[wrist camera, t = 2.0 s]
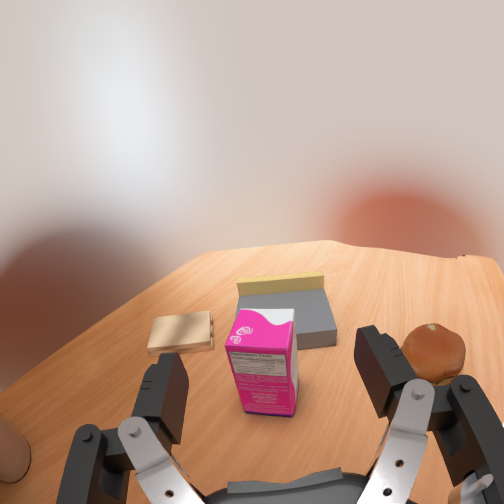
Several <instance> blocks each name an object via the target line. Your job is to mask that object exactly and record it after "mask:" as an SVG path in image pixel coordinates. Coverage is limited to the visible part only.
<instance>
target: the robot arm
mask: <svg viewBox="0 0 504 504" xmlns="http://www.w3.org/2000/svg"><path fill="white" fill-rule="evenodd" d="M354 360H355V364H356V366H357V369H358V371H359V373H360V375H361V378H362V380H363V382H364V385H365V387H366V389H367V391H368V394H369V396H370V399H371V401H372V403H373V406H374V408H375V410H376V413H377V415H378V418H382V417H385V416H387V418H388V420H389V422H388V424H387V427H386V430H385V432H384V435H383V437H382V440H381V442H380V445H379V447H378V449H377V452H376V454H375V456H374V458H373V460H372V462H371V464H370V466H369V468H368V470H367V472H366V474H365V476H364V475H360V474H356V473H347V472H342V471H341V467H339V468H335V469H330V470H326V471H321V472H316V473H312V474H310V475H307V476H305V477H302V478H300V479H297V480H295V481H292V482H289V483H285V484H280V483H270V482H262V481H241V482H228V488H224V489H221V490H218V491H216V492H213V493H211V494H210V495H208V496H206V495H205V494H204V492H203V491H202V490H201V489H200V488H199V487H198V486H197V485H196V484H195V483H194V481H193V480H192V479H191V478H190V476H189V475H188V474H187V473H186V471H185V470H184V469H183V467H182V466H181V465H180V463H179V462H178V461H177V459H176V458H175V456H174V455H173V454H172V452H171V447H172V444H180V442H181V435H182V428H183V421H184V414H185V407H186V401H187V395H188V388H189V379H188V375H187V372H186V370H185V368H184V365H183V363H182V360H181V358H180V356H179V354H178V353H177V352H172V353H161V354H160V356H159V360H158V363H157V364H152V365H151V366H150V367H149V368H148V369H147V371H146V372H145V374H144V377H143V380H142V383H141V387H140V390H139V393H138V396H137V399H136V403H135V406H134V409H133V412H132V415H131V417H130V418H127V419H125V420H124V421H123V422H122V423H121V424H120V426H119V427H118V428H114V429H108V430H102V431H101V430H100V429H99V428H98V427H97V426H95V425H92V424H86V425H83V426H81V427H80V428H79V429H78V430H77V431H76V433H75V435H74V438H73V441H72V444H71V448H70V451H69V454H68V458H67V461H66V465H65V469H64V472H63V476H62V480H61V484H60V488H59V493H58V497H57V502H56V504H126V499H127V491H128V483H129V476H130V470H136V471H137V474H136V478H137V480H138V482H139V484H140V485H141V487H142V489H143V490H144V492H145V494H146V495H147V497H148V498H149V500H150V501H151V503H152V504H417V503H415V502H413V501H411V500H409V499H408V496H409V494H410V491H411V489H412V486H413V484H414V481H415V478H416V476H417V473H418V470H419V467H420V464H421V461H422V458H423V455H424V451H425V448H426V444H427V440H428V436H427V435H426V431H433V434H434V436H435V438H436V441H437V443H438V446H439V448H440V451H441V453H442V456H443V459H444V461H445V464H446V467H447V470H448V472H449V475H450V478H451V481H452V484H453V487H454V488H453V489H452V491H451V492H450V494H449V497H448V504H504V427H503V425H502V423H501V421H500V420H499V418H498V416H497V414H496V412H495V411H494V409H493V407H492V405H491V404H490V402H489V400H488V398H487V397H486V395H485V393H484V392H483V390H482V389H481V387H480V385H479V384H478V382H477V381H476V380H475V379H474V378H473V377H471V376H469V375H460V376H457V377H456V378H455V379H454V380H453V382H452V384H450V385H440V386H432V385H431V384H430V383H429V382H428V381H426V380H423V379H419V378H418V376H417V375H416V373H415V371H414V370H413V368H412V367H411V365H410V363H409V362H408V360H407V359H406V357H405V355H403V352H402V351H401V349H399V346H398V344H397V343H396V341H395V340H394V339H393V338H392V337H390V336H389V335H387V334H386V333H384V334H380V333H379V331H378V330H377V328H376V327H375V326H374V325H370V326H366V327H362V328H358V329H357V333H356V341H355V348H354ZM29 463H30V448H29V445H28V442H27V441H26V439H25V438H24V437H23V436H22V435H21V434H20V433H19V432H18V431H17V430H16V429H15V428H14V427H13V426H12V425H11V424H10V423H9V422H8V421H7V420H6V419H5V418H4V417H3V416H2V414H1V413H0V479H1V480H2V481H4V482H8V483H10V482H15V481H18V480H19V479H20V478H22V477H23V475H24V474H25V473H26V471H27V469H28V466H29Z"/></svg>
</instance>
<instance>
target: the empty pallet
mask: <svg viewBox="0 0 504 504" xmlns="http://www.w3.org/2000/svg"><path fill="white" fill-rule="evenodd" d="M212 325H213V317H212V314H210V310H208V311H202V312H194V313H187V314H180V315H172V316H164V317H155V320H154V323H153V327H152V331H151V335H150V338H149V342H148V346H147V349H148V354H149V356H160V354H161V353H172V352H177V353H178V354H181V353H190V352H199V351H207V350H214V345H213V338H212V337H213V327H212Z"/></svg>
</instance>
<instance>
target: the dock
mask: <svg viewBox="0 0 504 504" xmlns="http://www.w3.org/2000/svg"><path fill="white" fill-rule="evenodd" d="M237 287H238V293H239V300H238V306H237V313H236V318H237V316H238V313H239V311H240V309H242V308H244V309H294V310H295V323H296V339H297V350H299V349H309V348H318V347H327V346H335V345H336V336H337V327H336V324H335V321H334V318H333V315H332V312H331V309H330V306H329V303H328V300H327V297H326V294H325V291H324V274H323V272H322V271H318V272H307V273H296V274H285V275H274V276H262V277H250V278H238V280H237ZM235 320H236V319H235Z"/></svg>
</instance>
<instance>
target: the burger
mask: <svg viewBox="0 0 504 504" xmlns="http://www.w3.org/2000/svg"><path fill="white" fill-rule="evenodd" d="M401 351H402V352H403V355H405V357H406V359H407V360H408V362H409V363H410V365H411V367H412V368H413V370H414V371H415V373H416V375H417V376H418V378H419V379H423V380H426V381H428V382H429V383H430V384H431V385H432V386H440V385H448V384H449V383H450V382H451V381H452V380H453V379H454V377H455V376H456V375H458V374H459V373H460V371H461V370H462V368H463V365H464V360H465V352H466V351H465V344H464V341H463V340H462V338H461V337H460V336H459V335H458V334H456V333H454V332H452V331H449V330H448V329H446V328H445V327H443V326H441V325H439V324H435V323H434V324H425V325H421V326H419V327H417V328H416V329H414V330H413V331H412V332H411V333H410V334H409V335H408V336H407V338H406V339H405V341H404V344H403V346H402V347H401Z"/></svg>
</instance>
